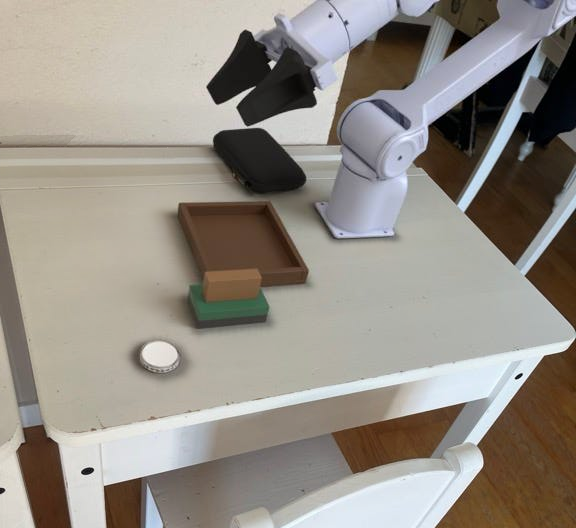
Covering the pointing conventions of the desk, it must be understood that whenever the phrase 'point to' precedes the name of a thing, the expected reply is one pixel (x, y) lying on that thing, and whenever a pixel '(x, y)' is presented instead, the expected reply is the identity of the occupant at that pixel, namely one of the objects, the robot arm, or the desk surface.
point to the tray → (242, 240)
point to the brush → (228, 299)
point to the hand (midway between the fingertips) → (226, 106)
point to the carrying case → (258, 160)
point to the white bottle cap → (159, 356)
